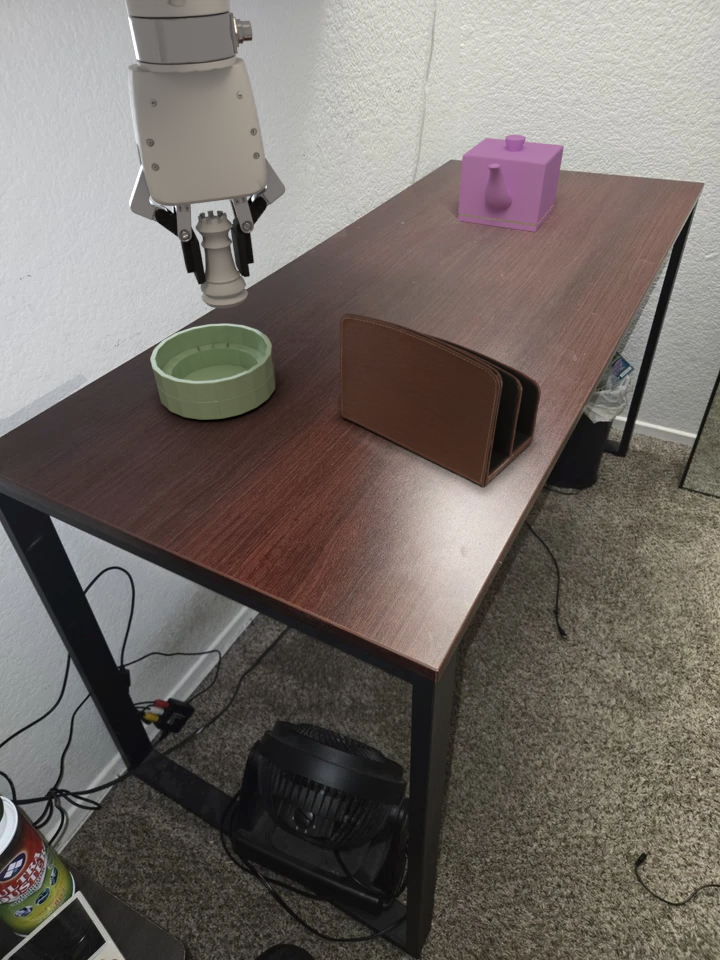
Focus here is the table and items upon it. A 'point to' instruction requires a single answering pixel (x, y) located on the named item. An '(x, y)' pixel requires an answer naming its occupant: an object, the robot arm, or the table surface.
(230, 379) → the bowl
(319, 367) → the table surface
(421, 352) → the letter holder
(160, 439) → the table surface
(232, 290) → the rook chess piece
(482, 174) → the teapot
